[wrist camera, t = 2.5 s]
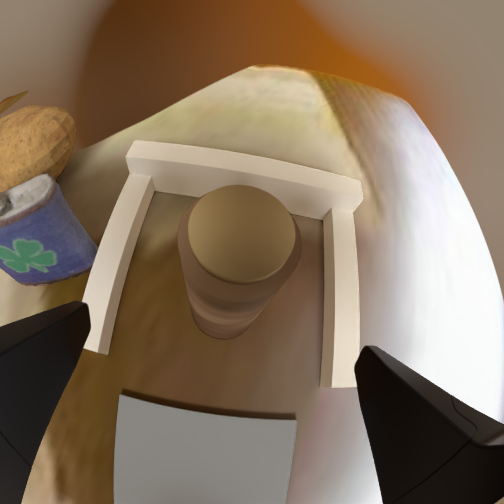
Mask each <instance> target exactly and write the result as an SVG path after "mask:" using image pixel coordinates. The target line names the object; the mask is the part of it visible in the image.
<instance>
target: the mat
mask: <svg viewBox="0 0 504 504" xmlns="http://www.w3.org/2000/svg"><path fill="white" fill-rule="evenodd" d="M297 421H298V420H285V419H261V418H247V417H236V416H227V415H219V414H211V413H204V412H198V411H192V410H186V409H181V408H176V407H171V406H166V405H161V404H157V403H153V402H148V401H144V400H140V399H137V398H133V397H129V396H126V395H122V394H120V397H119V405H118V414H117V425H116V437H115V454H114V504H285V502H286V497H287V491H288V485H289V479H290V473H291V466H292V459H293V452H294V445H295V437H296V429H297Z"/></svg>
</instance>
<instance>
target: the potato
mask: <svg viewBox="0 0 504 504" xmlns="http://www.w3.org/2000/svg"><path fill="white" fill-rule="evenodd" d="M76 134H77V132H76V126H75V121H74V120H73V118H72V117H71V116H70V114H68V112H67V111H66V110H65V109H62V108H59V107H53V106H36V105H31V106H27V107H24V108H22V109H20V110H18V111H15V112H14V113H12V114H9V115H6V116H4V117H2V118H0V192H4V191H6V190H9V189H11V188H12V187H15V186H17V185H20V184H22V183H24V182H25V181H28V180H30V179H32V178H34V177H36V176H38V175H41V174H50V175H51V176H52V177H53V178H54V179H55V180H56V179H57V178H58V176H59V175H60V174H61V173H62V171H63V169H64V168H65V166H66V165H67V163H68V161H69V159H70V156H71V153H72V151H73V148H74V143H75V139H76Z"/></svg>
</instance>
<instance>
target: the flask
mask: <svg viewBox="0 0 504 504" xmlns="http://www.w3.org/2000/svg"><path fill="white" fill-rule="evenodd" d="M97 251H98V246H97V245H96V244H95V242H94V241H93V240H92V239H91V238H90V236H89V235H88V233H87V232H86V231H85V229H84V227H83V226H82V224H81V223H80V221H79V220H78V219H77V217H76V216H75V214H74V213H73V211H72V210H71V208H70V206H69V205H68V203H67V201H66V200H65V198H64V196H63V194H62V191H61V189H60V186H59V184H58V183H57V182H56V181H55V179H54V178H53V177H52V176H51V175H50V174H41V175H38V176H36V177H34V178H32V179H30V180H28V181H25V182H24V183H22V184H20V185H17V186H15V187H12V188H11V189H9V190H6V191H4V192H1V193H0V268H1V269H2V270H4V271H5V272H6V273H8V274H9V275H10V276H11V277H13V278H14V279H15V280H16V281H17V282H19V283H20V284H23V285H26V286H31V285H32V286H37V285H40V286H42V285H47V284H52V283H54V282H59V281H63V280H66V279H69V278H73V277H77V276H79V275H82V274H85V273H87V272H88V271H90V270H91V269H92V266H93V263H94V260H95V257H96V254H97Z"/></svg>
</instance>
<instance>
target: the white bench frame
mask: <svg viewBox="0 0 504 504" xmlns="http://www.w3.org/2000/svg"><path fill="white" fill-rule="evenodd" d="M125 158H126V161H127V165H128V169H129V173H130V174H129V176H128V178H127V180H126V183H125V185H124V187H123V189H122V191H121V194H120V196H119V198H118V200H117V203H116V205H115V207H114V210H113V212H112V214H111V217H110V219H109V222H108V224H107V227H106V230H105V232H104V235H103V237H102V240H101V243H100V246H99V249H98V251H97V254H96V257H95V260H94V263H93V266H92V269H91V273H90V276H89V279H88V282H87V286H86V289H85V293H84V296H83V300H82V302H84V303H87V304H88V306H89V313H90V320H91V330H90V333H89V336H88V338H87V340H86V343H85V345H84V347H83V348H85V349H88V350H91V351H94V352H97V353H101V354H105V355H108V353H109V348H110V343H111V338H112V333H113V328H114V323H115V319H116V314H117V310H118V306H119V302H120V298H121V294H122V290H123V286H124V282H125V279H126V275H127V272H128V268H129V265H130V261H131V258H132V255H133V251H134V248H135V245H136V242H137V239H138V236H139V233H140V230H141V227H142V224H143V221H144V218H145V215H146V213H147V210H148V207H149V204H150V202H151V199H152V196H153V194H154V191H158V192H165V193H172V194H179V195H186V196H193V197H199V198H200V197H201V196H203V195H204V194H206V193H208V192H211V191H213V190H215V189H218V188H220V187H224V186H229V185H247V186H252V187H256V188H259V189H262V190H264V191H266V192H268V193H270V194H271V195H273V196H274V197H276V198H277V199H278V200H279V201H280V202H281V203H282V204H283V205H284V206H285V207H286V209H287V210H288V211H289V212H290V214H295V215H300V216H305V217H310V218H314V219H319V220H323V229H324V323H323V346H322V363H321V378H320V387H331V388H335V387H357V384H356V378H355V373H354V366H355V363H356V361H357V359H358V357H359V339H360V314H359V281H358V263H357V250H356V238H355V228H354V218H353V212H354V211H355V209H356V208H357V207H358V206H359V204H360V203H361V202H362V201H363V193H362V187H361V182H360V181H359V180H356V179H352V178H349V177H345V176H342V175H338V174H334V173H331V172H327V171H323V170H319V169H315V168H311V167H307V166H302V165H298V164H294V163H289V162H285V161H280V160H275V159H270V158H265V157H260V156H255V155H250V154H244V153H238V152H232V151H226V150H220V149H213V148H206V147H198V146H191V145H182V144H173V143H163V142H152V141H139V140H135V141H134V142H133V144H132V146H131V147H130V149H129V151H128V153H127V155H126V156H125Z"/></svg>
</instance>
